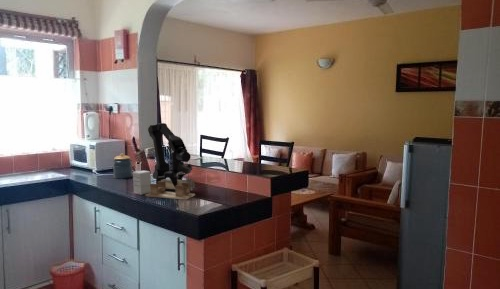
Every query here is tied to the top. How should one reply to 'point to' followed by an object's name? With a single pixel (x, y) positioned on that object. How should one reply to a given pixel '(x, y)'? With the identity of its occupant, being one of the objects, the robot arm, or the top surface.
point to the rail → (179, 182)
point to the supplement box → (142, 182)
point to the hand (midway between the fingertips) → (177, 187)
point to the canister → (122, 167)
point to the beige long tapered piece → (179, 193)
